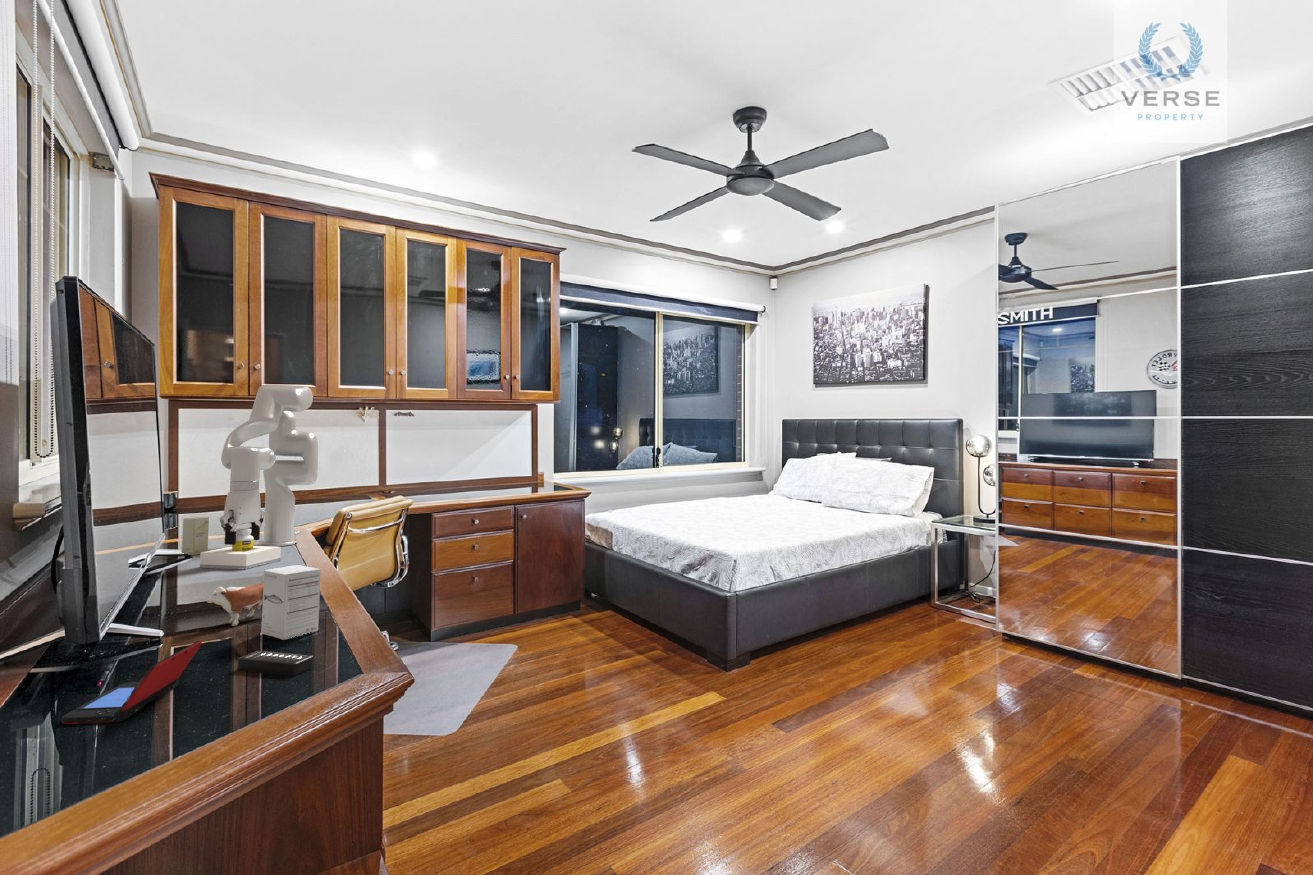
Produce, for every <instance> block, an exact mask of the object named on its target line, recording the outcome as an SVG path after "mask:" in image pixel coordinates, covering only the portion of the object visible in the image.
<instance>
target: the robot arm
mask: <svg viewBox="0 0 1313 875" xmlns="http://www.w3.org/2000/svg"><path fill="white" fill-rule="evenodd" d="M313 399H314V394H313V391H312V389H311V388H310V387H308V386H306V385H304V386H303V385H288V384H287V385H286V384H264V385H261V386H260V387H259V388H258V389H257V393H256V396H255V399H254V402H253V406H252V408H251V413H250V415H249V419H248V420H246V421H244V422H243V423H242V424H240V425H239V426H237V427H236V428H234V429H233V430H231V432H229V434H228V435H227V437H226V439H225V442H224V445H223V448H222V452H221V458H220V460H221V465H222V466H223V468H225V469H227V470H230V478H229V481H230V482H229V491H228V492H227V495H226V498H225V502H224V503H225V504H224V512H223V515H221V516H220V518H219V522H220V525H221V528H222V529H223V532H224V545H225V546H226V545H228V546H229V545H230V546H232V545H235V544H236V535H237V534H236V529H238V528H237V527H238V526H239V525H245V524H249V525H250V527H248V528H249V529H251V534H250V535H251V536H253V538H254V540H253V541H259V540H260V537H261V536H260V534H261V527H262V526H263V540H260V541H259V542H258V544H257V546H273V547H284V546H292V545H296V544H295V542H296V540H297V541H298V542H299V540H298V539H295V538H296V537H300V536H301V535H302V534H301V531H300V530H297V531H295V530H294V529H295V508H296V497H295V494H294V492H293V491H292V490H291V489H290V487H289V486H311V485H313V484H315V483H316V482H317V479H318V468H319V467H318V464H319V463H318V461H319V442H318V441H319V440H318V438H317V436H316V434H314V433H313V432H309V431H298V430H297V428H296V425H297V423H296V422H297V421H296V420H297V419H296V416H295V414H294V413H300V412H301V413H302V412H304V411H306V410H308V409H309V408H310V407H311V406H312V404H313V401H314V400H313ZM293 412H294V413H293ZM266 435H268V447H267V446H266V447H265V446H243V445H242V444H243V443H245V442H248V441H251V440H252V439H256V438H259V437H263V436H266ZM276 457H295V458H296V457H297V458H298V457H300V458H302V459H303V460H302V459H301V460H299V459H276ZM261 471H262V472H263V480H264V487H265V489H264V490H265V492H264V493H265V494H264V495H265V496H264V498H265V499H264V511H263V510H262V503H261V502H262V501H261V494H260V475H261V474H260V473H261ZM263 523H264V524H263Z"/></svg>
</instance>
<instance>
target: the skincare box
mask: <svg viewBox="0 0 1313 875" xmlns="http://www.w3.org/2000/svg"><path fill="white" fill-rule="evenodd" d="M209 524H210V517H209V516H195V517H193V516H192V517H187V518H182V539H181V540H182V541H181V554H182V553H184V554H188V555H187V556H195V555H200V553H201V552H206V551H209V550H208V548H209V526H210V525H209Z"/></svg>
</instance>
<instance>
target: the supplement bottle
mask: <svg viewBox="0 0 1313 875" xmlns="http://www.w3.org/2000/svg"><path fill="white" fill-rule="evenodd" d="M235 531H236V544H235V545H231V547H232V551H236V552H246V551H250V550H253V546H254V541H255V540H254V538H253V536H251V535H250V534H251V529H249V527H247V528H246V527H243V528H236V529H235Z"/></svg>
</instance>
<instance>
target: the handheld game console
mask: <svg viewBox="0 0 1313 875" xmlns="http://www.w3.org/2000/svg"><path fill="white" fill-rule="evenodd" d="M202 644H203V640H202V639H199V640H197V641H195V642H194V643H192V644H190V645H188V646H186V647H184V648H182V649H180V650H178V651H176V652H175V653H173V654H171V655H170V656H167V657H166V658H164V659H162V660H160V661H159V662H156V663H154V664H153V665H151V666H150V667H149V668H148V669H147V670H146V671H145V672H144V674H143V675H142V677H141V678H140V679H139V681H128V682H123V683H121V684H119V685H117V686H116V687H113V688H111V689H109V690H108V691H105V692H104V693H102V694H100V695H98V696H96V697H95V698H92V699H91V700H89V701H87V702H85V703H83V704H81V705H80V706H78V707H76V708H75V709H72V710H70V711H69V712H68V713H66V714H63V715H62V717H61V721H60V722H61V724H63V725H77V724H78V725H79V724H80V725H82V724H102V723H122V722H124V721H125V720H126V719H128V718H130V717H131V716H132V715H134V714H135V713H137V712H139V711H140V710H142V709H144V708H145V706H146V705H147V704H149V703H151V702H153V701H156V700H157V699H158V700H159V699H160V698H162V697H163V696H164V695H166V694H168V693H169V692H171V691H173V690H175V689H176V688H177V687H178V686H179V678H180V677H181V675H182V674H183V672H184V670H185V669H186V668H187V666H188V665H189V663H190V662H191V660H192V659H193V658H194V656H195V655H196V653H197V652H198V651H199V649H200V647H201V645H202Z"/></svg>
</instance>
